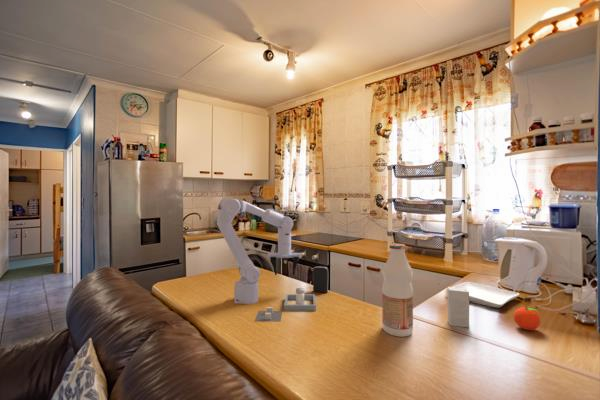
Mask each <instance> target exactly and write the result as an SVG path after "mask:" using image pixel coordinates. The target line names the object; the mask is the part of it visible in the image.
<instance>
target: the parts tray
mask: <svg viewBox="0 0 600 400" xmlns="http://www.w3.org/2000/svg"><path fill="white" fill-rule="evenodd" d="M284 299H285V300H284V303H283V311H287V312H288V311H291V312H292V311H293V312H294V311H298V312H301V311H304V312H305V311H307V312H309V311H315V312H317V304H316V303H317V302H316V294H314V293H313V294H312V293H311V294H310V293H309V294H305V293H304V301H308V300H309V301H313V302H312V303H313V304H304V305H296V304H288V302H289V301H290V300H291V301H294V300H295V301H296V293H295V294H292V293H291V294H285V298H284Z"/></svg>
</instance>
